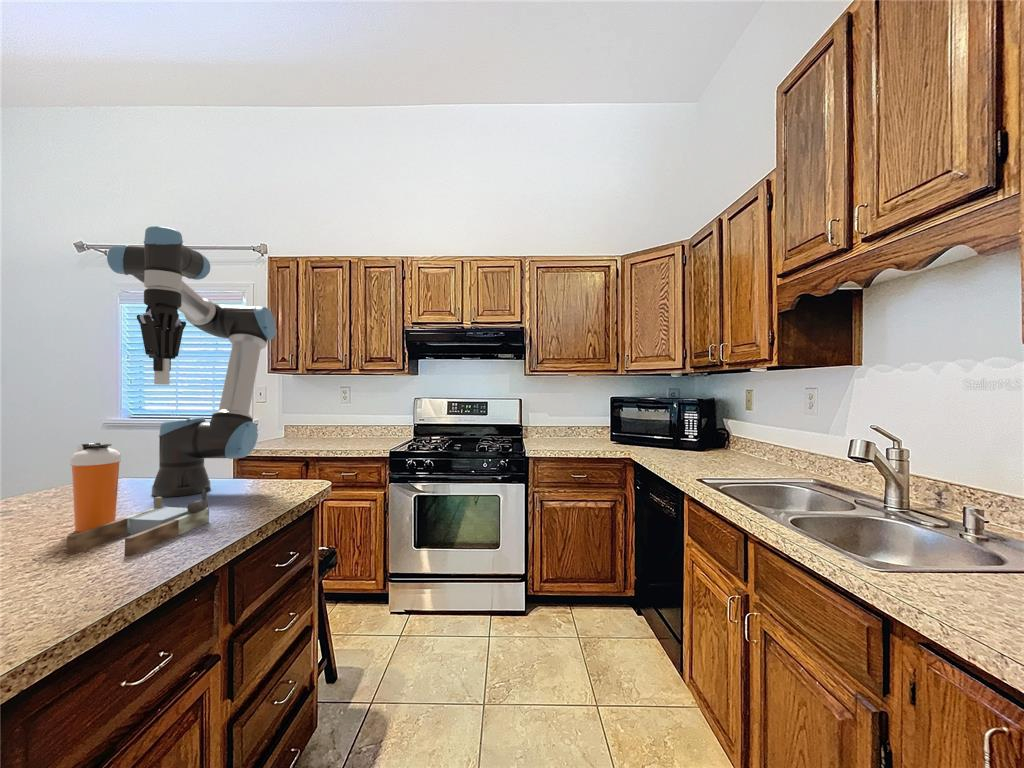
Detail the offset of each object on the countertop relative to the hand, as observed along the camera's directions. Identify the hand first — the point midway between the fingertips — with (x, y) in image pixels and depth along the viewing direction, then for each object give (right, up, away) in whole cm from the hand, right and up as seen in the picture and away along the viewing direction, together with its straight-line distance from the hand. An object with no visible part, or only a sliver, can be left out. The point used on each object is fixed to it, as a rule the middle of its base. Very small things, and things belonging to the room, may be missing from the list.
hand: (161, 384), depth 115 cm
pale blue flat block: (+5, -35, -5) cm, 36 cm away
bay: (+5, -35, -11) cm, 37 cm away
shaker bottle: (-12, -35, -6) cm, 37 cm away
